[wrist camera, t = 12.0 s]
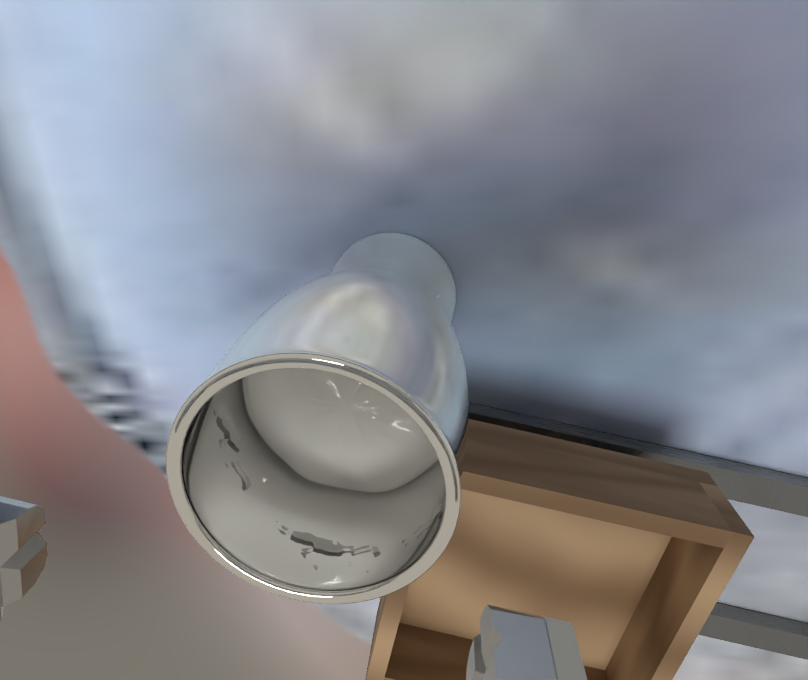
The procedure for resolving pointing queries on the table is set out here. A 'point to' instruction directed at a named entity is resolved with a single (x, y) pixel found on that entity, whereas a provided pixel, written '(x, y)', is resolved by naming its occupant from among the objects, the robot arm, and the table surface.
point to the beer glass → (332, 432)
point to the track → (734, 484)
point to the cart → (568, 559)
